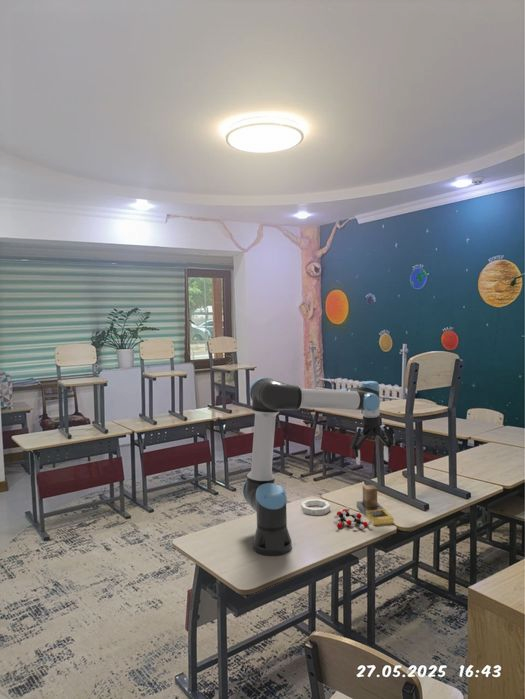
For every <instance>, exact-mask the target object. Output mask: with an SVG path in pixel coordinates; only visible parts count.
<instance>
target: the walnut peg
mask: <svg viewBox="0 0 525 699" xmlns="http://www.w3.org/2000/svg"><path fill="white" fill-rule="evenodd" d="M362 501H363V506H364V507H365V508H377V503H378V488H377V487H376V486H375V485H374V484H366V485H362Z"/></svg>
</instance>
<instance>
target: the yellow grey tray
mask: <svg viewBox="0 0 525 699" xmlns="http://www.w3.org/2000/svg"><path fill="white" fill-rule="evenodd" d="M356 508H357V509H358V510H359V511H360V513H361V514H362V515H363V516H364V517H365V518H366V519H367V520H368V521H370V522H371V525H373V526H381V525H393V524H394V523H395V522H394V521H395V520H394V517H393V516H392V515H391V513H389V512H388V511H387V510H386V509H385V508H384V507H383V506H382V505H381V504H379V502H377V508H365V507H364V506H363V500H361V501H356Z"/></svg>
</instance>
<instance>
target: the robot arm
mask: <svg viewBox="0 0 525 699" xmlns="http://www.w3.org/2000/svg"><path fill="white" fill-rule="evenodd" d="M249 396H250V399H251V401H252V402H251V411H252V412H253V414H254V425H253V439H252V453H251V469H250V471H249V472H248V473H247V474H246V480H245V481H244V483H243V486H242V495H243V498H244V499H245V501H246V503H247V504H248V505H250V507H251V508H252V509H253V510H254V512H256V530H255V533H254V537H253V541H252V549H253V550H254V551H255V553H257V554H259V555H264V556H268V557H270V556H272V557H274V556H280V555H284V554H287V553H288V552H290V551H291V549H292V546H293V544H292V543H293V542H292V538H291V534H290V532H289V529H288V526H287V525H288V522H287V521H288V520H287V518H288V517H287V493H286V490H285V488H284V487H283V486H282V485H281V484H276V482H275V480H276V478H275V477H276V476H275V475H274V474H273V472H272V470H273V456H274V455H273V454H274V444H275V430H276V418H277V417H276V416H277V415H279V413H280V411H298V410H300V409H302V408H304V409H307V408H309V409H330V410H334V409H335V410H356V411H357V410H358V411H362V427H358V426H356V427H355V433H354V436H353V438H352V441H351V443H350V445H349V448H350V449H352V450H353V455H354V457H355V463H356V464H357V465H358V466H361V450H360V448H361V446H362V445H363V444H364V443H365V441H366V440H367V438H372V437H377V438H378V439H379V440H380V441H381V442H382V443H383V444H384V445H383V461H385V462H387V463H388V462H389V454H390V453H391V452H390V451H391V449H390V448H391V447H392V446H393V445H394V444H395V443H394V441H393V439H392V437H391V434H390V433H389V431H388V428H387V425H385V424H382V425H381V416H380V413H381V412H380V411H381V410H380V404H381V400H380V385H379V382H378V381H375V380H366V381H362V383H361V386H358V387H348V388H347V387H346V388H340V389H338V390H337V389H335V390H334V389H318V388H317V389H315V388H302V387H301V386H300V385H293V384H289V383H284V382H281V381H279V380H275V379H273V378H270V377H259V378H258V379H256V380H254V381H253V383H252V384H251V386H250V388H249ZM380 431H382V433H383V434H384V436H385V437H384V436H383V435H382V434H381V432H380Z"/></svg>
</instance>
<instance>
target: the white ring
mask: <svg viewBox="0 0 525 699" xmlns="http://www.w3.org/2000/svg"><path fill="white" fill-rule="evenodd" d="M315 506H318V508H316V507H315ZM313 507H315V508H313ZM300 510H301V511H302V513H303V514H306V515H311V516H321V515H326V514H327V513H329V512H330V511H331V504H330V503H329V502H328V501H327V500H323V499H320V498H313V499H306V500H304V501H302V502H301V503H300Z"/></svg>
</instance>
